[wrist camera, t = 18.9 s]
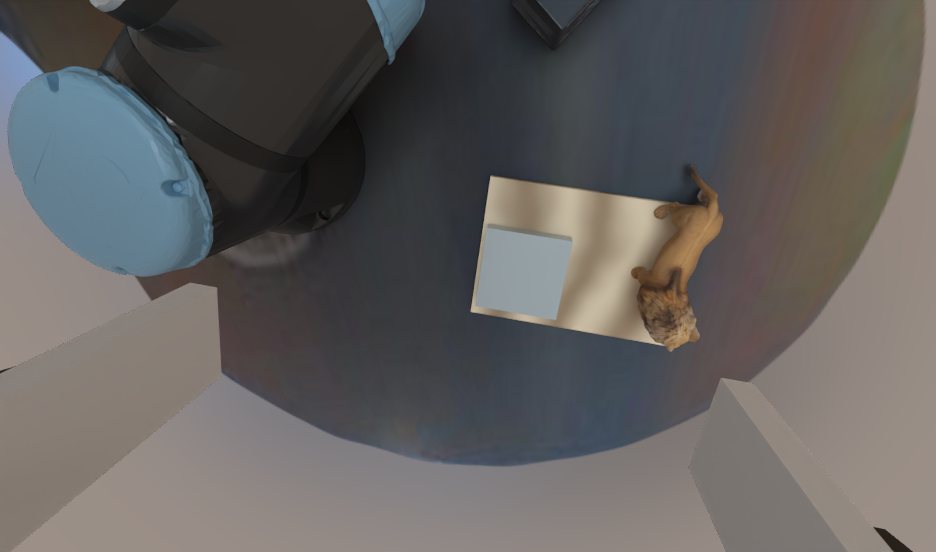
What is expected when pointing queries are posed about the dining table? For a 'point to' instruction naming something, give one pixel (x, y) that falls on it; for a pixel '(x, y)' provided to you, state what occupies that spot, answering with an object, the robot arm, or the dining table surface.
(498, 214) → the board
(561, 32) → the box
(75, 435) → the robot arm
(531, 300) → the block
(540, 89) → the dining table surface
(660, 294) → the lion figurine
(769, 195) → the dining table surface
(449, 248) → the dining table surface
